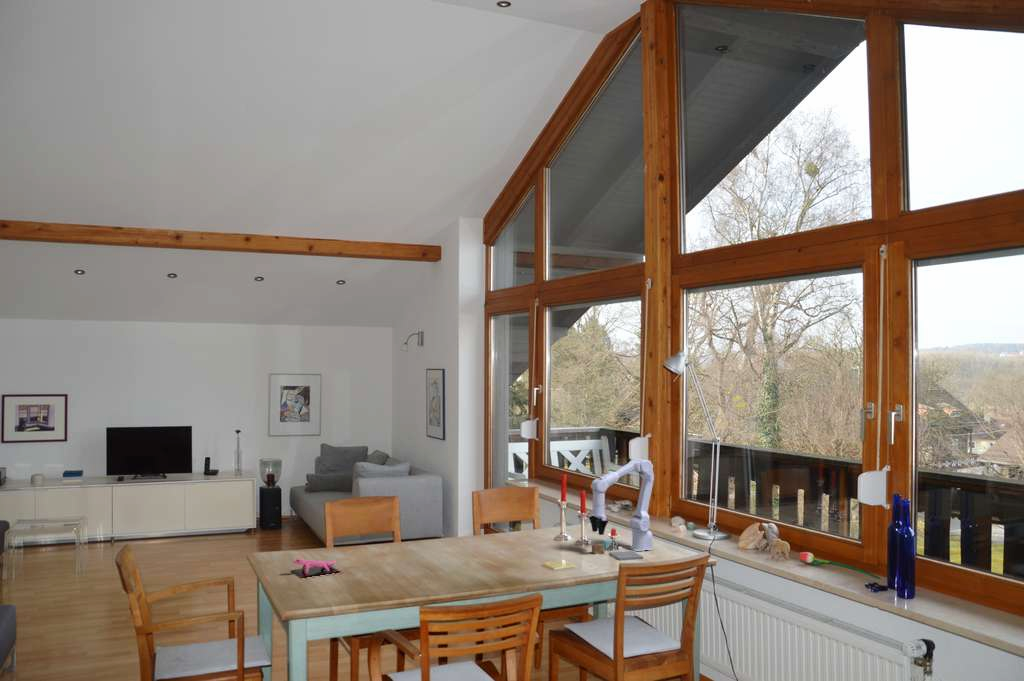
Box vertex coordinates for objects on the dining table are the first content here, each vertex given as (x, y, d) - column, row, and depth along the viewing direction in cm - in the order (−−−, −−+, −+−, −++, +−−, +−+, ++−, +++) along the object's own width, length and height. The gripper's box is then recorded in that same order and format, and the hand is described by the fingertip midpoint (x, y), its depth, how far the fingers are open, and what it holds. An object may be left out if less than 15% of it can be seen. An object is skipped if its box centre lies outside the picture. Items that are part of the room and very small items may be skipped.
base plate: (632, 553, 397) (632, 550, 397) (643, 558, 385) (643, 556, 385) (609, 554, 393) (609, 552, 393) (619, 560, 382) (619, 558, 382)
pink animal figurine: (286, 573, 357) (287, 556, 357) (331, 567, 368) (331, 550, 368) (298, 580, 345) (298, 563, 345) (343, 574, 356) (343, 557, 356)
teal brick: (610, 547, 409) (610, 539, 409) (614, 549, 405) (614, 541, 405) (602, 548, 408) (602, 539, 408) (606, 550, 403) (606, 541, 403)
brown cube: (600, 552, 399) (600, 543, 399) (604, 554, 394) (604, 545, 394) (591, 552, 397) (591, 544, 397) (595, 554, 393) (595, 546, 393)
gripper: (585, 502, 402) (584, 530, 402) (596, 507, 388) (596, 536, 388) (598, 501, 404) (597, 529, 404) (610, 506, 390) (610, 535, 390)
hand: (598, 533), depth 396 cm, fingers open, 7 cm apart
